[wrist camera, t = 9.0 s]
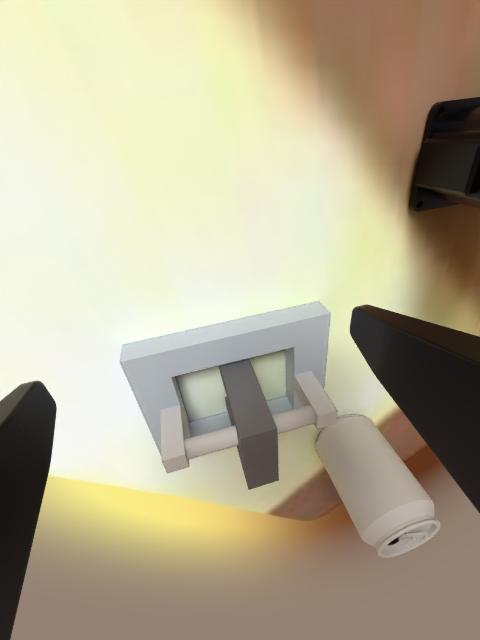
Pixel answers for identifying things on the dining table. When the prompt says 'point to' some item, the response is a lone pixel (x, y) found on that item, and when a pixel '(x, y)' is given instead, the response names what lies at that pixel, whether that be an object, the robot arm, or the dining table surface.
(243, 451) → the tall grey upright block
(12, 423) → the robot arm
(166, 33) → the dining table surface
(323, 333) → the square frame
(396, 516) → the can
